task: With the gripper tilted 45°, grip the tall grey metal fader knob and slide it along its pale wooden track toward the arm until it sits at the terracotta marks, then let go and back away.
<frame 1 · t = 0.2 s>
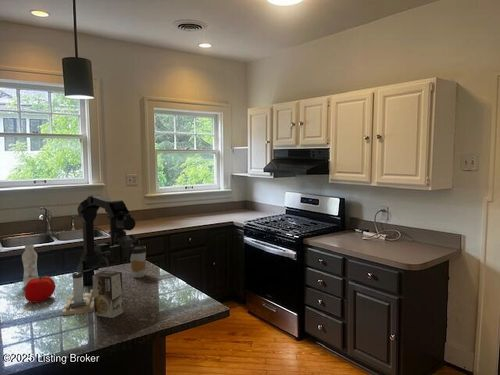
hand: (118, 264, 161), 14 cm above the counter, tool pointing down, fingers open, 9 cm apart
plastic bottle: (31, 286, 177), on the counter
coffee cup: (138, 276, 191), on the counter
fader knob: (78, 289, 146), point 8 cm above the counter, slide at 0.0 cm
coffee box: (109, 314, 142), on the counter
tomato: (40, 300, 158), on the counter
fader track: (80, 304, 152), on the counter
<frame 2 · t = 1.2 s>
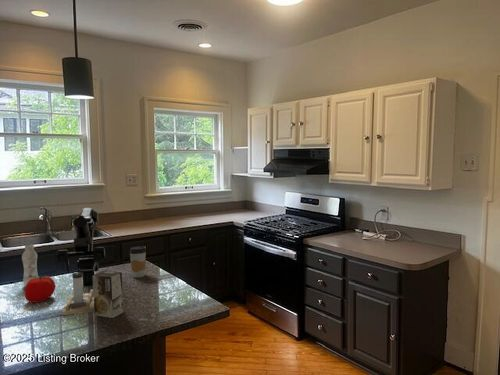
hand: (80, 271, 153), 13 cm above the counter, tool tilted 45°, fingers open, 9 cm apart
nothing on the counter moved.
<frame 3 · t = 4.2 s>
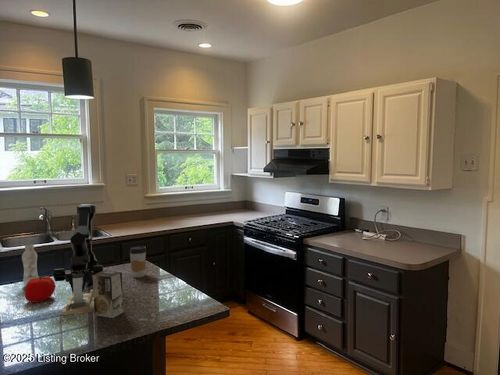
hand: (77, 292, 145), 8 cm above the counter, tool tilted 45°, fingers closed on fader knob, 3 cm apart
fader knob: (78, 289, 146), point 8 cm above the counter, slide at 0.0 cm, touching gripper
everything else where it was.
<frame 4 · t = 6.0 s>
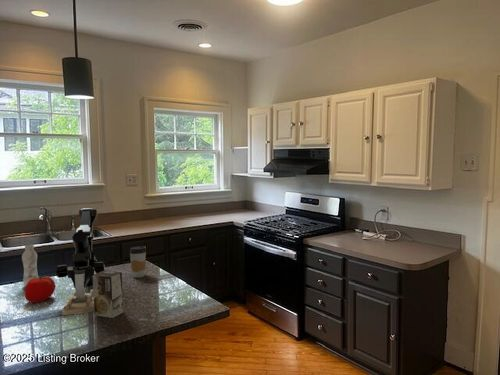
hand: (79, 287, 150), 8 cm above the counter, tool tilted 45°, fingers closed on fader knob, 3 cm apart
fader knob: (80, 284, 152), point 8 cm above the counter, slide at 5.6 cm, touching gripper
everything else where it was.
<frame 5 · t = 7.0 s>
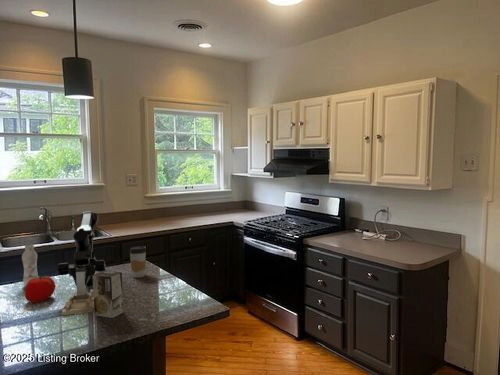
hand: (80, 285, 154), 8 cm above the counter, tool tilted 45°, fingers closed on fader knob, 3 cm apart
fader knob: (81, 282, 155), point 8 cm above the counter, slide at 9.0 cm, touching gripper
everything else where it was.
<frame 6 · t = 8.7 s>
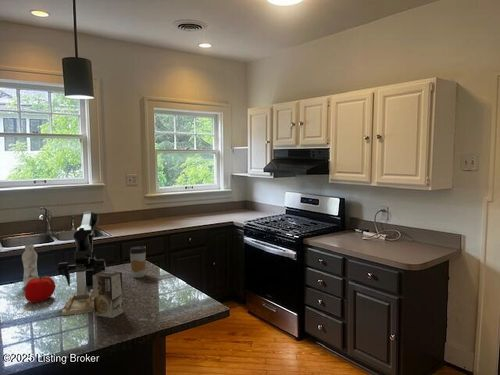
hand: (80, 284, 154), 8 cm above the counter, tool tilted 45°, fingers open, 9 cm apart
fader knob: (81, 282, 155), point 8 cm above the counter, slide at 9.0 cm
everything else where it was.
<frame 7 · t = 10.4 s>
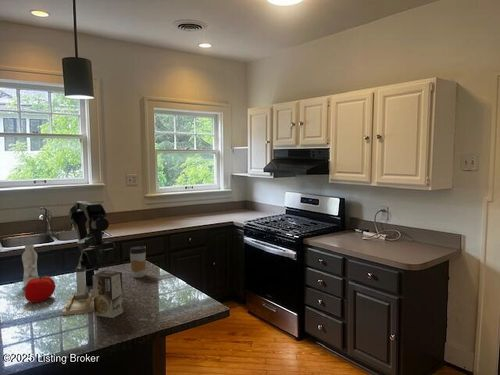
hand: (97, 264, 167), 13 cm above the counter, tool pointing down, fingers open, 9 cm apart
nothing on the counter moved.
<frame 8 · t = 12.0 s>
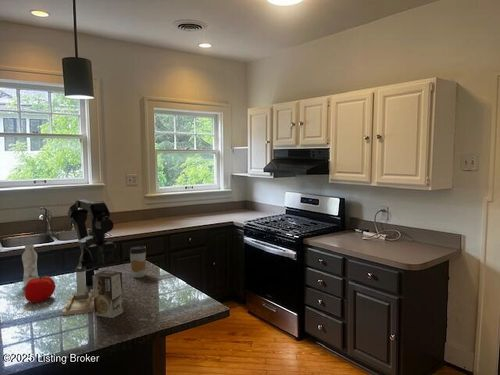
hand: (99, 262, 168), 13 cm above the counter, tool pointing down, fingers open, 9 cm apart
nothing on the counter moved.
at the end: fader knob slide at 9.0 cm; the gripper is holding nothing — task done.
